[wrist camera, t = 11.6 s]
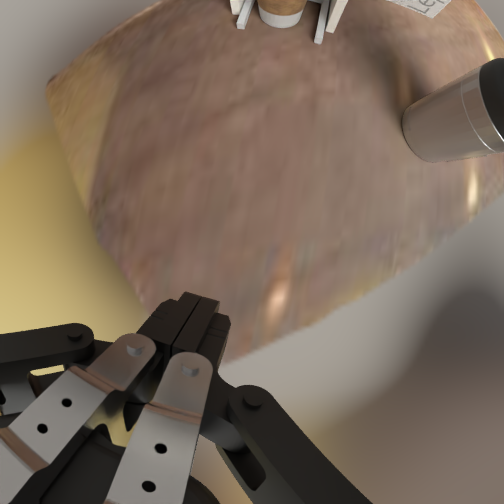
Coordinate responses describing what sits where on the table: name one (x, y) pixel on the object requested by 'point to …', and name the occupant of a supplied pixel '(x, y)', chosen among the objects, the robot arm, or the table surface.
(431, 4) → the tall white box
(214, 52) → the table surface
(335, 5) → the white rectangular frame
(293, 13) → the coffee cup
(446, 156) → the robot arm
